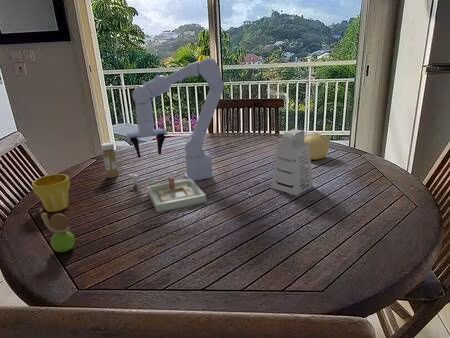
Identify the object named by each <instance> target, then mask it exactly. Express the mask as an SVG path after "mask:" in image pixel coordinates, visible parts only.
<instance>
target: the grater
mask: <svg viewBox="0 0 450 338" xmlns="http://www.w3.org/2000/svg"><path fill="white" fill-rule="evenodd" d="M304 135H305V131H304V130H301V129H295V128H294V129H293V128H292V129H291V130H287V131H285V132H283V135H282V142H281V143H278V144H277V147H276V155H275V159H274V167H273V172H272V178H271V185H270V189H271V188H274V189H277V190H276V191H278V190H281V191H285V192H288V193H291V194H295V195H297V194H299V193H301V192H302V191H304V190H305V189H307V188H309V187H310V186H312V185H313V186H314V184H313V175H312V174H313V173H312V164H311V163H312V161H311V160H312V159H310V150H309V143H304ZM293 138H294V140H293ZM302 153H303V154H302ZM307 153H308V156H307ZM305 154H306V156H305ZM301 182H303V183H301ZM279 183H280V184H279ZM304 183H305V184H304ZM306 183H307V184H308V185H307V184H306ZM283 184H284V185H283ZM285 185H286V186H285ZM289 186H290V187H289ZM291 186H292V187H291ZM274 189H273V190H274ZM309 189H310V188H309ZM281 191H280V192H281ZM291 194H290V195H291ZM301 194H302V193H301Z"/></svg>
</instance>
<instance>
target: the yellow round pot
mask: <svg viewBox="0 0 450 338" xmlns="http://www.w3.org/2000/svg"><path fill="white" fill-rule="evenodd" d="M304 143H309V150H310V160H312V161H313V160H320V159H323V158H325V157H326V155H327V154H328V152H329V148H330V137H328V136H325V135H323V134H321V133H319V132H315V133H308V134H304ZM302 154H303V153H302ZM305 156H306V154H305ZM307 156H308V153H307Z"/></svg>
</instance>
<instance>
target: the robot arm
mask: <svg viewBox="0 0 450 338" xmlns="http://www.w3.org/2000/svg"><path fill="white" fill-rule="evenodd" d="M200 75H201V77H202V78H203V80H205V81H206V84H207V86H208V87H209V90H208V93H207V95H206V98H205V100H204V104H203V106H202V107H201V110H200V113H199V116H198V119H197V121H196V123H195V126H194V129H193V131H192V133H191V135H189V136H188V138H187V140H186V144H185V147H184V151H185V154H184V155H185V168H186V172H185V173H183V175H184V177H185V178H186V179H192V180H193V181H194V182H195V181H199V180H204V179H211V178H213V177H214V175H213V166H212V165H213V163H212V156H211V154H210V153H209V152H205V151H204V149H203V145H204V140H205V138H206V134H207V132H208V129H209V127H210V124H211V122H212V119H213V116H214V114H215V111H216V109H217V106H218V104H219V101H220V99H221V97H222V94H223V91H224V88H225V87H224V82H223V78H222V77H223V76H222V74H221V68H220V67H219V64H218V63H217V62H216V60H215V59H214V58H212V57H205V58H203V59H202V60H198V61H195V62H191V63H189V64H187V65H185V66H184V67H183V66H182V68H179V69H178V70H176V71H174V72H173V73H171V74H169V75H167V76H166V75H163V74H160V75H159V74H156V75H155V76H153V79H151V80H149V81H147V82H146V81H144V82H142V85H138V86H137V87H135V88H134V90H133V91H132V92H131V94H132V96H131V97H132V99H133V100H134V103H135V113H136V121H137V130H138V131H134V132H127V133H126V134H125V136H126V140H130V142H131V144H132V145H133V148H134V149H135V151H136V155H137V158H141V152H140V146H139V145H140V143H139V140H138V139H140V138H149V137H156V143H157V153H158V155H162V150H163V149H162V148H163V145H164V141H165V139H166V136H168V131H167V129H166V128H160V129H159V128H156V129H155V123H154V122H155V121H154V112H153V106H152V101H151V100H152V99H154V98H157V97H158V96H161V95H163V94H165V93H166V92H168V91H170V89H171V85H173V84H176V83H178V82H180V81H181V80H183V79H186V78H188V77H191V76H194V77H199V76H200Z"/></svg>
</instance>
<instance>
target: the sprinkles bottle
mask: <svg viewBox="0 0 450 338" xmlns="http://www.w3.org/2000/svg"><path fill="white" fill-rule="evenodd" d="M114 145H115V144H114V143H113V142H109V141H108V142H104V143H101V145H100V146H101V151H102V156H103V163H104V168H105V173H106V177H107V178H109V179H113V178H116V177H118V176H119V173H118V172H119V171H118V166H117V161H116V154H115V149H114V148H115V146H114Z"/></svg>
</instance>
